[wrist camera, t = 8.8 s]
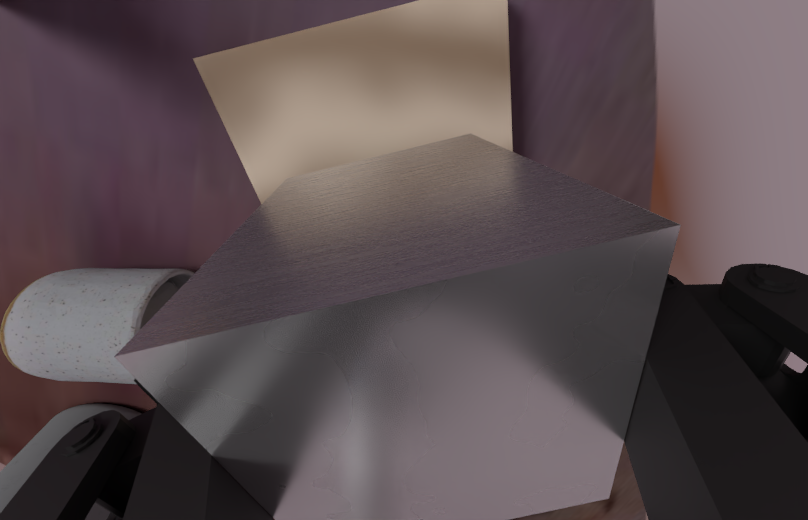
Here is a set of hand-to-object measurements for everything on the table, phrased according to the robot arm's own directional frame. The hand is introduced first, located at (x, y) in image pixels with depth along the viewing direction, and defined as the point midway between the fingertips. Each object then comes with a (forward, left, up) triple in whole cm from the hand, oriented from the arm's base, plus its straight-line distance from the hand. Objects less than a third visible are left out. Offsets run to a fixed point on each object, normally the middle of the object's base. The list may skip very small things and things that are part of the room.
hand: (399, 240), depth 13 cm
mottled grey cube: (0, 0, 0) cm, 0 cm away
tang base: (0, 0, -9) cm, 9 cm away
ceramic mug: (-5, +20, -10) cm, 23 cm away
